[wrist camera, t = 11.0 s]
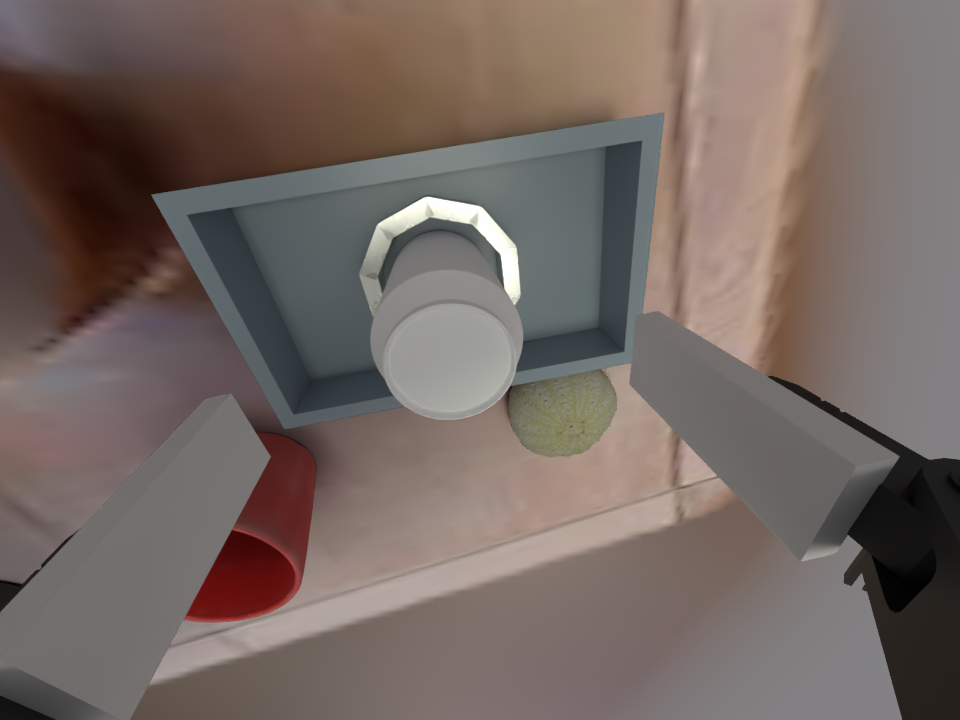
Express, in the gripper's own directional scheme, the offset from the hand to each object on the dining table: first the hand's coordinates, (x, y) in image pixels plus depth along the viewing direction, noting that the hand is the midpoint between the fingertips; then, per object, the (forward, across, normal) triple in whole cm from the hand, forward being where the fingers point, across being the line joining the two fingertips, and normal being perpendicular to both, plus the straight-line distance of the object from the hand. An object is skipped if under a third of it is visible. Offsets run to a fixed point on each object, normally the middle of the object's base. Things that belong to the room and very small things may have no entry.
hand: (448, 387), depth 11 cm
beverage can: (+13, 0, 0) cm, 13 cm away
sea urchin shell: (+14, +8, -12) cm, 21 cm away
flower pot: (+15, -18, -14) cm, 27 cm away
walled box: (+14, 0, 0) cm, 14 cm away
